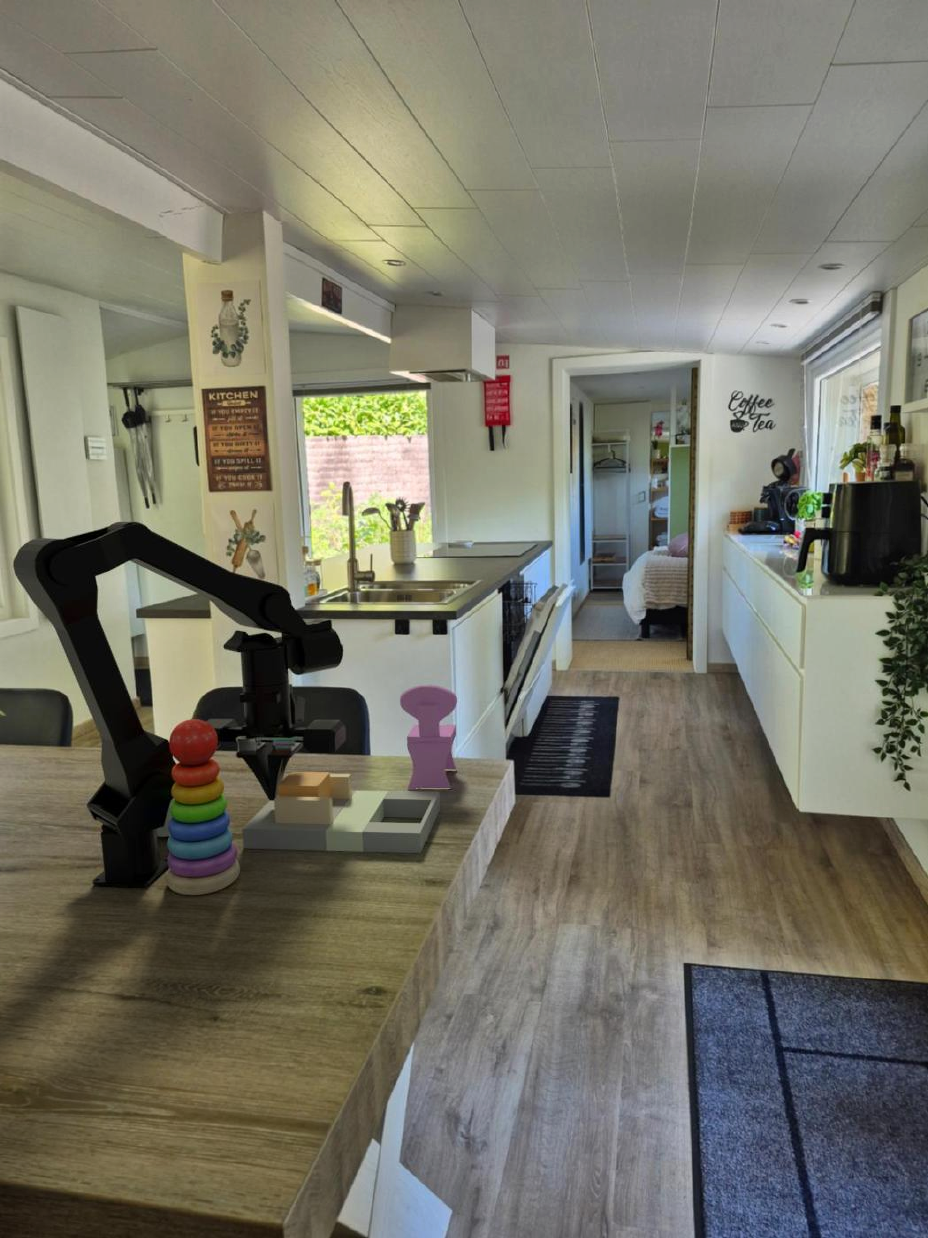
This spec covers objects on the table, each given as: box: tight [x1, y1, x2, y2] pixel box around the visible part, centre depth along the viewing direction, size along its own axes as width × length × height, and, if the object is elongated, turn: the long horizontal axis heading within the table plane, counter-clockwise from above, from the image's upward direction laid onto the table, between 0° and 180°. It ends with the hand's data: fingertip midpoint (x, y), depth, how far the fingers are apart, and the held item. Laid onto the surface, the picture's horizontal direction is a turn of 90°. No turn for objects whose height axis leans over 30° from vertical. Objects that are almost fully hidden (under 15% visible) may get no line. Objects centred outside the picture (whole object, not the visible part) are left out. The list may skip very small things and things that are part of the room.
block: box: [278, 771, 331, 797], centre depth 111 cm, size 5×5×4 cm
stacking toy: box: [165, 718, 241, 896], centre depth 95 cm, size 8×8×19 cm
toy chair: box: [399, 684, 458, 790], centre depth 127 cm, size 8×9×15 cm
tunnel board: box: [241, 773, 441, 854], centre depth 110 cm, size 14×22×6 cm, turn 82°
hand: (273, 799), depth 112 cm, fingers closed
